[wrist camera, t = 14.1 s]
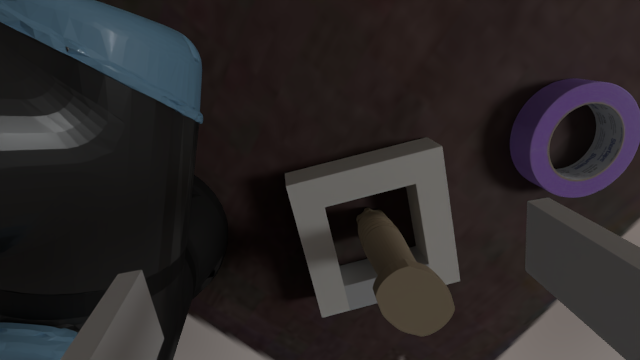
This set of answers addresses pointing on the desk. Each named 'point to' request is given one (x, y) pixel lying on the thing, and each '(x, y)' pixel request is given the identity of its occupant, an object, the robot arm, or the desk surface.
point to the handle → (402, 278)
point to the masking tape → (608, 145)
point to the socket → (364, 180)
